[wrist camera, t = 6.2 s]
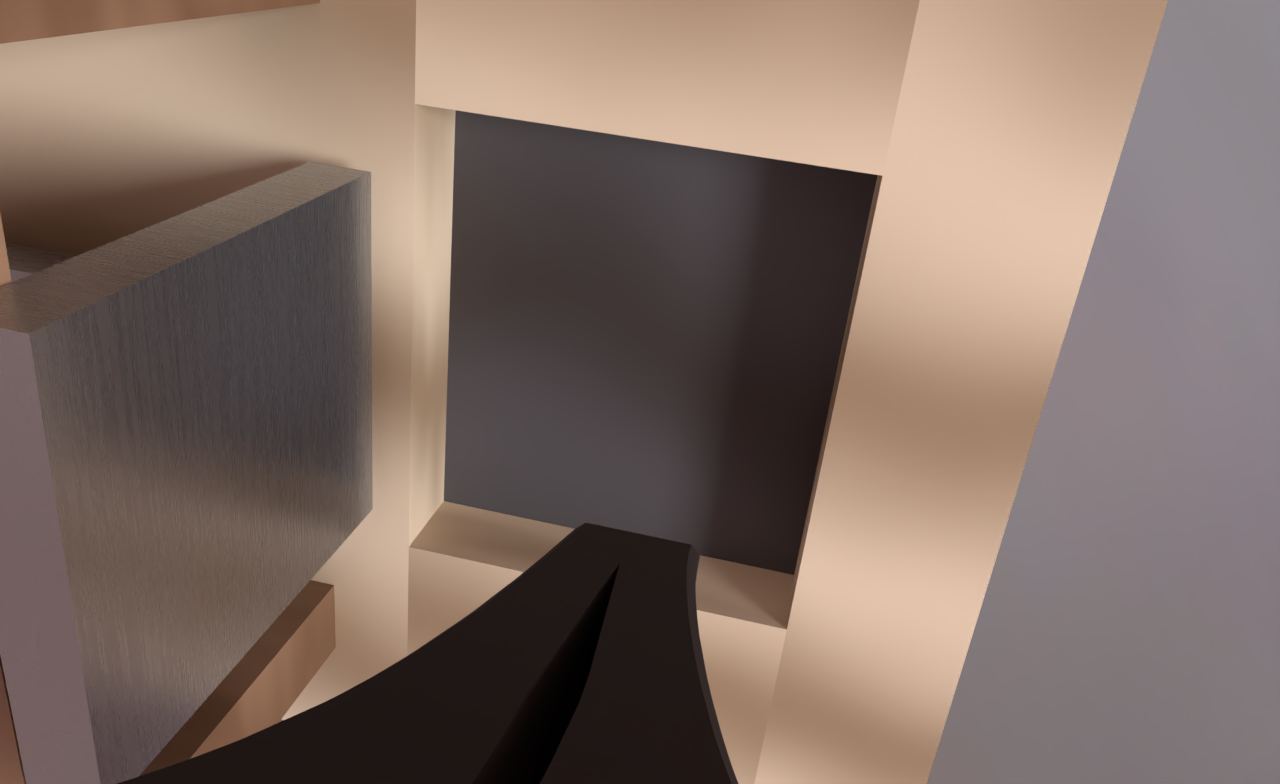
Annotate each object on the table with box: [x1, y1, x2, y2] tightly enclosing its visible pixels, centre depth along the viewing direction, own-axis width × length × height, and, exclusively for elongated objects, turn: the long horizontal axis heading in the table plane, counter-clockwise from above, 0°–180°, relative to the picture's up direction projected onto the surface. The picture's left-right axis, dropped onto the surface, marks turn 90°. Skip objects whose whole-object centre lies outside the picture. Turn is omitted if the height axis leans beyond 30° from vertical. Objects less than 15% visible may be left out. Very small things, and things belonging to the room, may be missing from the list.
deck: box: [0, 0, 1168, 784], centre depth 19 cm, size 18×27×2 cm, turn 84°
